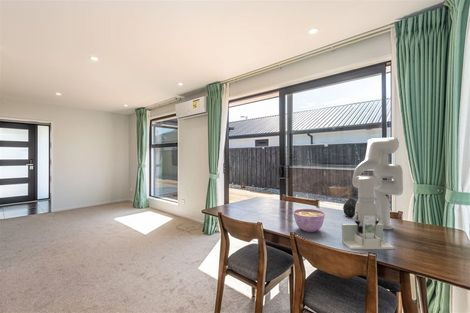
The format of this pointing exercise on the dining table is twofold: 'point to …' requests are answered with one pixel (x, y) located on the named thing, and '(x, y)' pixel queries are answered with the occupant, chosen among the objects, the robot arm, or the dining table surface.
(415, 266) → the dining table surface
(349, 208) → the squash
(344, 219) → the dining table surface
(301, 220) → the bowl of food
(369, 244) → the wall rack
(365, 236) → the syrup box
